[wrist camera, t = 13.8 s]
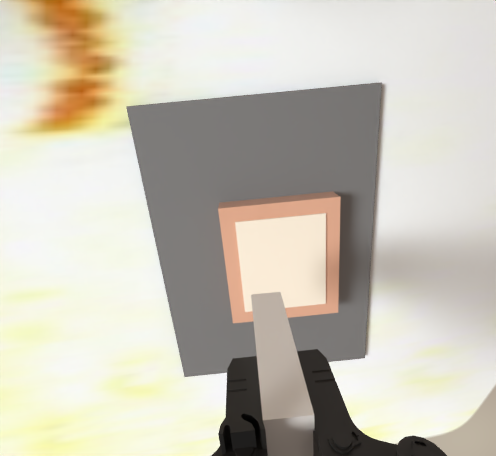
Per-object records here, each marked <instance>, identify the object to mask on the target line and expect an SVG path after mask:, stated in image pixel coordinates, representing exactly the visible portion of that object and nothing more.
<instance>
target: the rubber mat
mask: <svg viewBox="0 0 496 456" xmlns="http://www.w3.org/2000/svg"><path fill="white" fill-rule="evenodd" d="M381 85H382V83H371V84H361V85H350V86H339V87H329V88H318V89H308V90H297V91H286V92H276V93H265V94H255V95H244V96H233V97H223V98H212V99H202V100H191V101H180V102H170V103H159V104H149V105H138V106H127V112H128V117H129V121H130V126H131V130H132V135H133V140H134V144H135V149H136V154H137V158H138V163H139V168H140V172H141V177H142V181H143V186H144V191H145V195H146V200H147V205H148V209H149V214H150V218H151V223H152V228H153V232H154V237H155V242H156V246H157V251H158V256H159V260H160V265H161V269H162V274H163V279H164V283H165V288H166V293H167V297H168V302H169V307H170V311H171V316H172V320H173V325H174V330H175V334H176V339H177V344H178V348H179V353H180V357H181V362H182V367H183V371H184V376H185V377H189V376H198V375H208V374H217V373H227V369H228V367H229V365H230V363H231V361H232V359H233V358H242V357H252V356H257V353H256V343H255V332H254V321H252V322H242V323H233V319H232V312H231V304H230V296H229V289H228V281H227V273H226V266H225V258H224V250H223V243H222V235H221V227H220V219H219V212H218V207H219V203H221V202H231V201H241V200H251V199H262V198H272V197H282V196H292V195H302V194H312V193H323V192H334V193H336V194H337V195H339V196H340V197H341V200H340V249H339V299H338V313H329V314H320V315H310V316H300V317H291V318H288V321H289V325H290V328H291V332H292V336H293V339H294V343H295V347H296V350H297V351H304V350H314V349H318V350H319V351H320V352H321V353H322V354H323V355H324V356H325V357H326V358H327V361H328V362H331V361H341V360H350V359H360V358H365V345H366V329H367V313H368V297H369V280H370V264H371V248H372V231H373V215H374V199H375V183H376V166H377V150H378V134H379V117H380V101H381Z"/></svg>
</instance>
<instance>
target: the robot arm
mask: <svg viewBox="0 0 496 456" xmlns="http://www.w3.org/2000/svg"><path fill="white" fill-rule="evenodd" d="M251 300H252V310H253V321H254V332H255V343H256V353H257V356H252V357H242V358H233V359H232V361H231V363H230V365H229V367H228V369H227V396H226V418H225V419H224V421H223V422H222V424H221V426H220V430H219V440H220V447H219V448H218V450H217V451H216V452H215V453H214V454H213V455H212V456H447V455H446V454H445V453H444V452H443V451H442V450H441V449H440V448H438V447H437V446H436V445H435V444H434V443H432V442H430V441H428V440H426V439H425V438H421V437H417V436H408V437H404V438H403V439H402V440H401V441H399V443H398V445H396V444H392V443H387V442H383V441H379V440H376V439H373V438H371V437H369V436H367V435H365V434H364V433H362V432H361V431H360V430H359V429H358V428H357V427H356V426H355V425H354V423H353V422H352V420H351V418H350V416H349V413H348V411H347V408H346V406H345V403H344V401H343V398H342V396H341V393H340V391H339V388H338V386H337V383H336V381H335V378H334V376H333V373H332V372H331V368H330V366H329V363H328V361H327V358H326V357H325V356H324V355H323V354H322V353H321V352H320V351H319V350H318V349H314V350H304V351H297V350H296V347H295V343H294V339H293V336H292V332H291V328H290V325H289V321H288V318H287V314H286V310H285V307H284V303H283V299H282V296H281V292H273V293H262V294H252V295H251Z"/></svg>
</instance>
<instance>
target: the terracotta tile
mask: <svg viewBox="0 0 496 456" xmlns="http://www.w3.org/2000/svg"><path fill="white" fill-rule="evenodd" d="M340 200H341V197H340V196H339V195H337V194H336V193H334V192H323V193H312V194H302V195H292V196H282V197H272V198H262V199H251V200H241V201H231V202H221V203H219V207H218V212H219V219H220V227H221V235H222V243H223V250H224V258H225V266H226V273H227V281H228V289H229V296H230V304H231V312H232V319H233V323H242V322H252V321H253V310H252V300H251V295H252V294H262V293H273V292H281V296H282V299H283V303H284V307H285V310H286V314H287V318H291V317H300V316H310V315H320V314H329V313H338V299H339V249H340Z"/></svg>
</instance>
